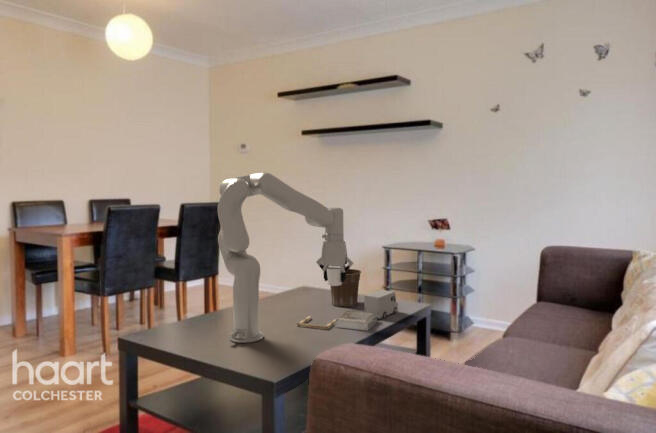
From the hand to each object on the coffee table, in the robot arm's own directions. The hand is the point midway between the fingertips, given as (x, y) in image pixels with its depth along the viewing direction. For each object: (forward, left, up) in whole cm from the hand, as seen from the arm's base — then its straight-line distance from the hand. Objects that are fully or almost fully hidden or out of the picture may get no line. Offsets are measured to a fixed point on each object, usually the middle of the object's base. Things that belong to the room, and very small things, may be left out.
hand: (334, 280), depth 199 cm
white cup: (0, 0, -2) cm, 2 cm away
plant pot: (+33, +8, -18) cm, 38 cm away
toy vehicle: (+21, -14, -18) cm, 31 cm away
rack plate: (+3, -8, -18) cm, 20 cm away
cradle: (-2, +7, -18) cm, 19 cm away
